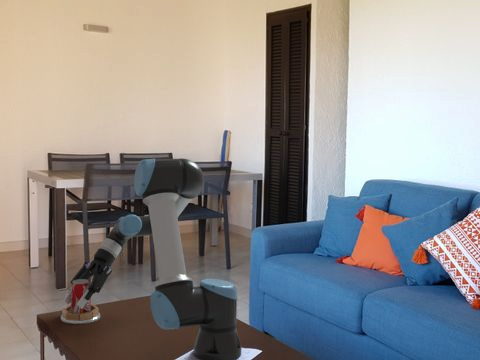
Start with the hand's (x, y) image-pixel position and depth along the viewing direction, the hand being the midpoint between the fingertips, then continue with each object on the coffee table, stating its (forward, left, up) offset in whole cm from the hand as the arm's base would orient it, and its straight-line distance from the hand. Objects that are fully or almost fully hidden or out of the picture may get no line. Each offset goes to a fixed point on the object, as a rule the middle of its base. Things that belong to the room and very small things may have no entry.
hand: (72, 304), depth 217 cm
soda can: (+1, -3, -4) cm, 6 cm away
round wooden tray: (+1, -3, -6) cm, 7 cm away
